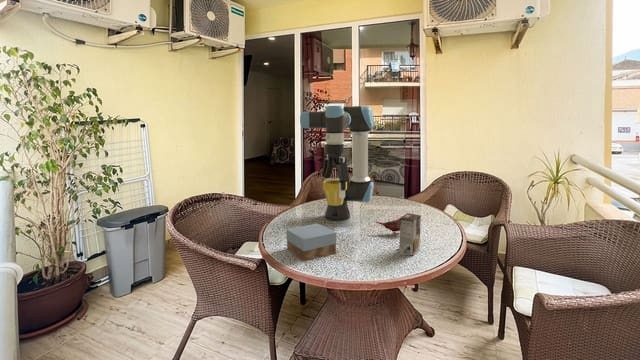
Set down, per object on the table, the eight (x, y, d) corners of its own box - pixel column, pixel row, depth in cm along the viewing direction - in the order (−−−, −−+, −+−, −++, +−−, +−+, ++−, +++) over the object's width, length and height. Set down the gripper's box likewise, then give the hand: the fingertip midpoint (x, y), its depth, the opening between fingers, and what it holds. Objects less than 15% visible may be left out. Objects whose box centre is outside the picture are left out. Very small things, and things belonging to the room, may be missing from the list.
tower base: (318, 243, 164) (317, 233, 164) (335, 254, 151) (335, 243, 150) (287, 249, 157) (286, 239, 156) (303, 262, 143) (302, 250, 142)
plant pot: (321, 201, 153) (321, 179, 151) (344, 200, 154) (344, 179, 153) (324, 207, 143) (324, 184, 141) (349, 206, 144) (349, 183, 142)
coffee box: (406, 247, 157) (407, 212, 155) (420, 249, 154) (421, 214, 151) (398, 253, 150) (399, 217, 147) (412, 256, 146) (414, 219, 144)
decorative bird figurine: (410, 235, 172) (411, 216, 171) (374, 234, 175) (374, 215, 174) (409, 233, 175) (410, 214, 173) (374, 232, 178) (374, 213, 176)
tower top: (317, 233, 163) (317, 223, 162) (336, 243, 150) (336, 232, 149) (286, 239, 155) (286, 229, 154) (303, 251, 142) (303, 239, 141)
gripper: (313, 142, 152) (314, 191, 156) (342, 145, 132) (342, 201, 136) (328, 141, 156) (328, 189, 160) (358, 144, 136) (357, 199, 140)
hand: (334, 195), depth 148 cm, fingers closed on plant pot, 10 cm apart
